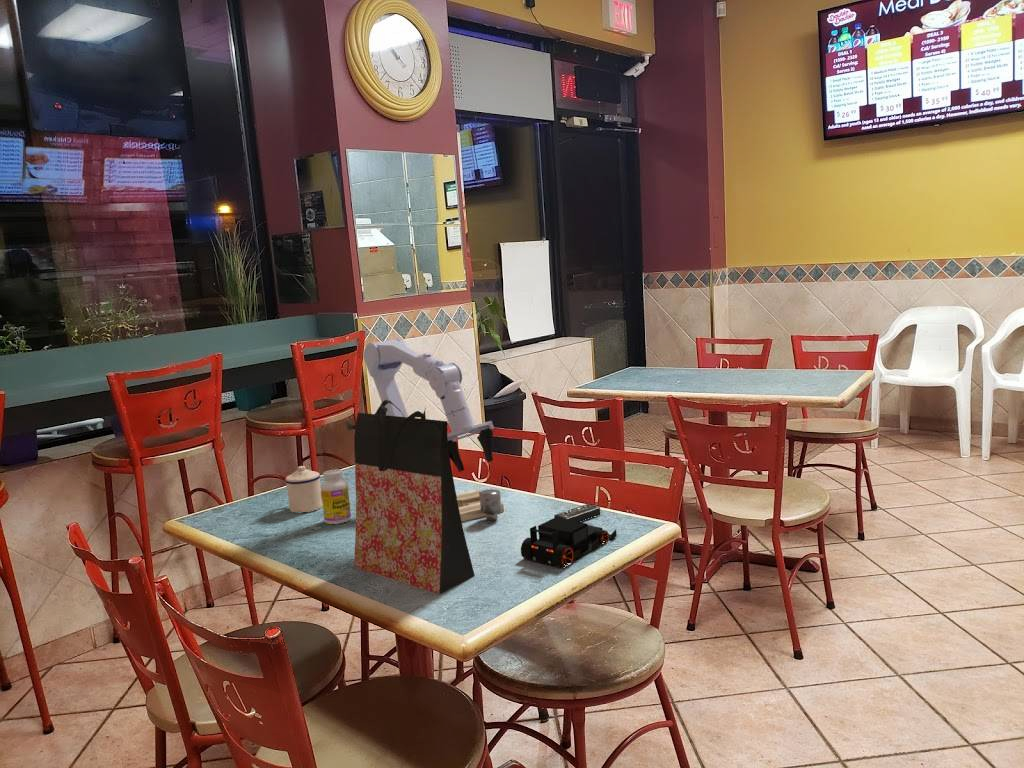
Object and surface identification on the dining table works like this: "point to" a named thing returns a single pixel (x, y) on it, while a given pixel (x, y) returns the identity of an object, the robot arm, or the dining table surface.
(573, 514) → the multiport hub
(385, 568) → the gift bag
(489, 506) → the keyhole peg
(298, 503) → the teacup with lid
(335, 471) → the supplement bottle
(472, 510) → the keyhole plate
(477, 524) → the dining table surface
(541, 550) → the toy truck
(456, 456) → the robot arm
